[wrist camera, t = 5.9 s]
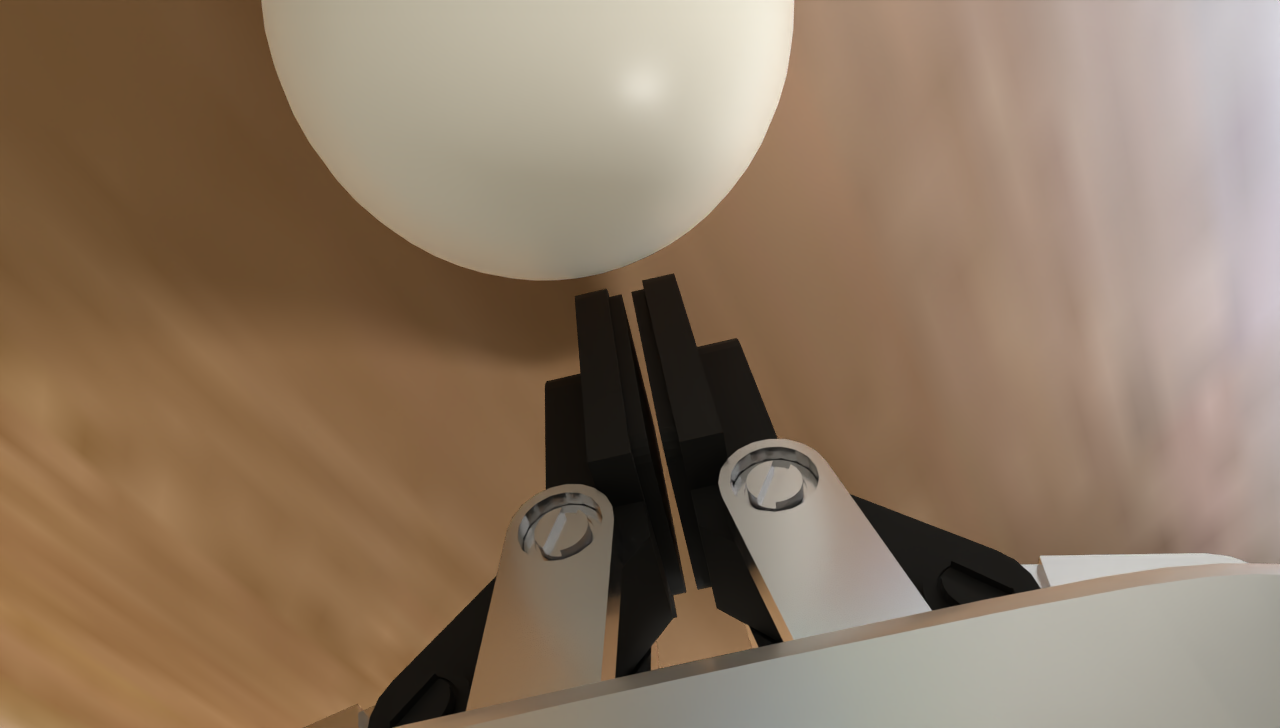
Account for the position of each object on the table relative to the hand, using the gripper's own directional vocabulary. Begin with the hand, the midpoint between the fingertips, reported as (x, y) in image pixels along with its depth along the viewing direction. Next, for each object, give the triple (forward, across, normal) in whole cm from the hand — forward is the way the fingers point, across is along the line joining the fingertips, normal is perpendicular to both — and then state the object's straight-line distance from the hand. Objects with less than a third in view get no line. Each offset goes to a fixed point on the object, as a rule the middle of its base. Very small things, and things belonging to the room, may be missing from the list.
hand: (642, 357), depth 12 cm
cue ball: (-1, 0, -6) cm, 6 cm away
